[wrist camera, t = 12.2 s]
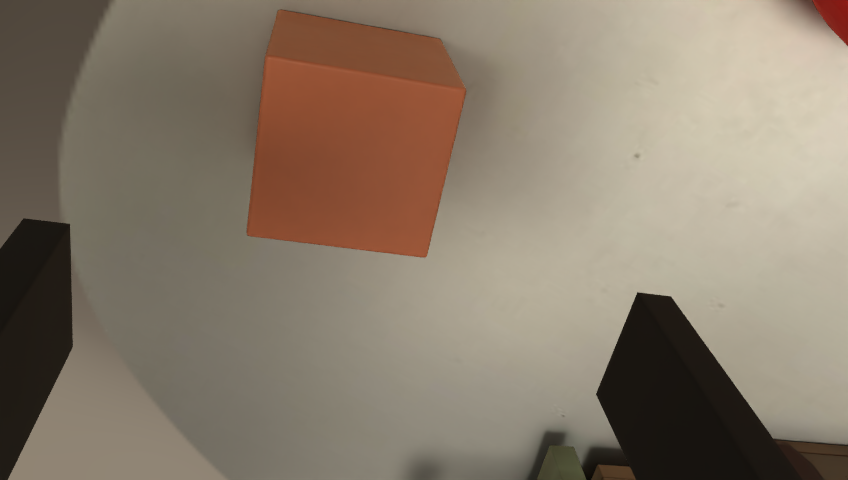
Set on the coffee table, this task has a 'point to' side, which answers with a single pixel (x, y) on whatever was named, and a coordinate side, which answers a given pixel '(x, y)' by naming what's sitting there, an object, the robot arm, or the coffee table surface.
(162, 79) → the coffee table surface
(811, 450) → the cabinet
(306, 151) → the block
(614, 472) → the drawer
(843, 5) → the fruit
